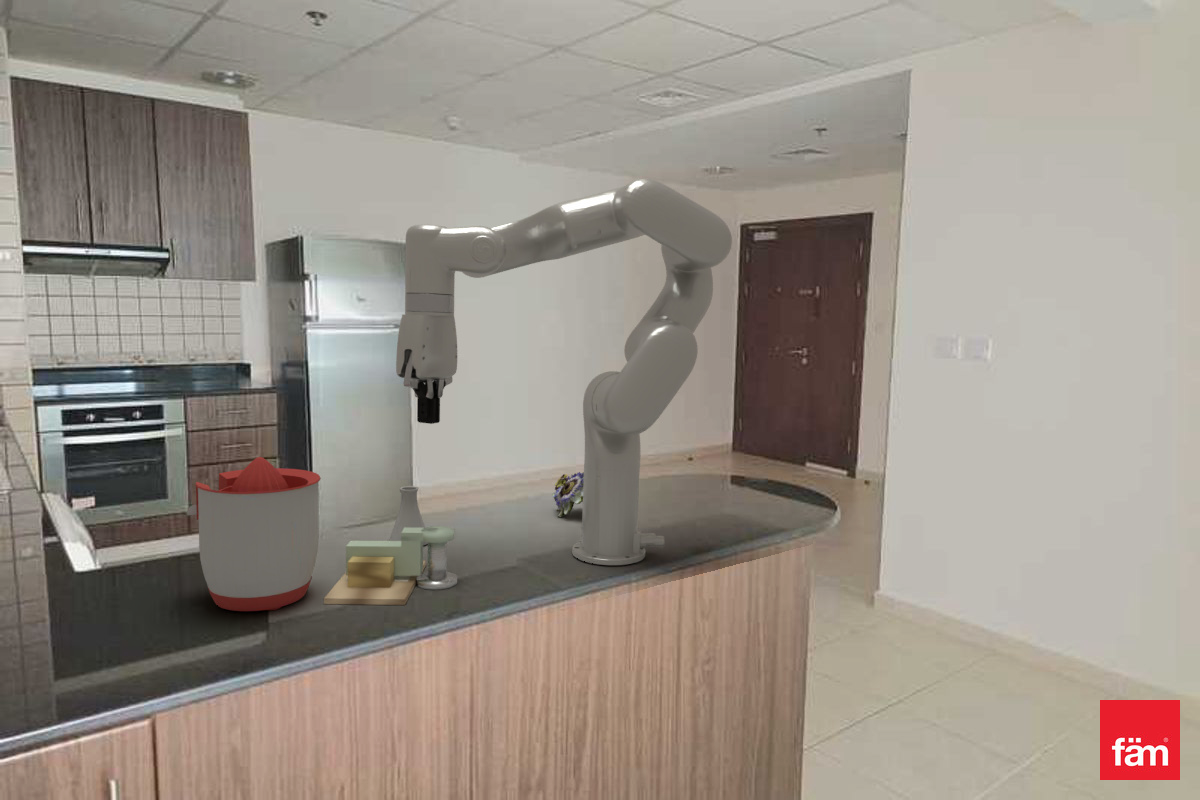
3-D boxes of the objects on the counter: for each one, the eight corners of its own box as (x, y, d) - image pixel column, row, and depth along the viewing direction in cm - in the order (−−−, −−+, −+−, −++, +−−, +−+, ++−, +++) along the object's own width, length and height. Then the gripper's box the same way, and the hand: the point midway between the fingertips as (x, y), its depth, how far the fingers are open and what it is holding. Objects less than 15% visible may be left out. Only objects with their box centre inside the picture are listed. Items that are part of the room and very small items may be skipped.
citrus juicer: (223, 576, 113) (221, 444, 111) (337, 581, 113) (337, 449, 111) (159, 616, 98) (155, 464, 96) (292, 623, 97) (291, 470, 95)
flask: (418, 551, 129) (419, 493, 128) (379, 547, 130) (380, 490, 129) (436, 539, 136) (437, 485, 135) (399, 536, 138) (399, 482, 136)
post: (459, 576, 117) (460, 534, 116) (454, 590, 111) (455, 546, 110) (420, 575, 117) (420, 534, 116) (413, 589, 111) (413, 545, 110)
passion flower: (561, 543, 155) (538, 490, 159) (604, 526, 161) (580, 476, 165) (582, 524, 146) (557, 469, 150) (627, 507, 152) (601, 455, 156)
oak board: (425, 565, 122) (426, 538, 121) (405, 604, 105) (405, 573, 104) (356, 564, 121) (356, 537, 121) (323, 604, 104) (323, 572, 104)
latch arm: (454, 567, 116) (455, 526, 116) (451, 577, 112) (452, 534, 111) (352, 567, 115) (352, 525, 114) (344, 577, 110) (344, 534, 109)
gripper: (440, 307, 127) (438, 416, 129) (378, 304, 113) (377, 425, 115) (477, 308, 124) (475, 419, 125) (418, 305, 110) (416, 430, 112)
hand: (428, 422), depth 120 cm, fingers closed
